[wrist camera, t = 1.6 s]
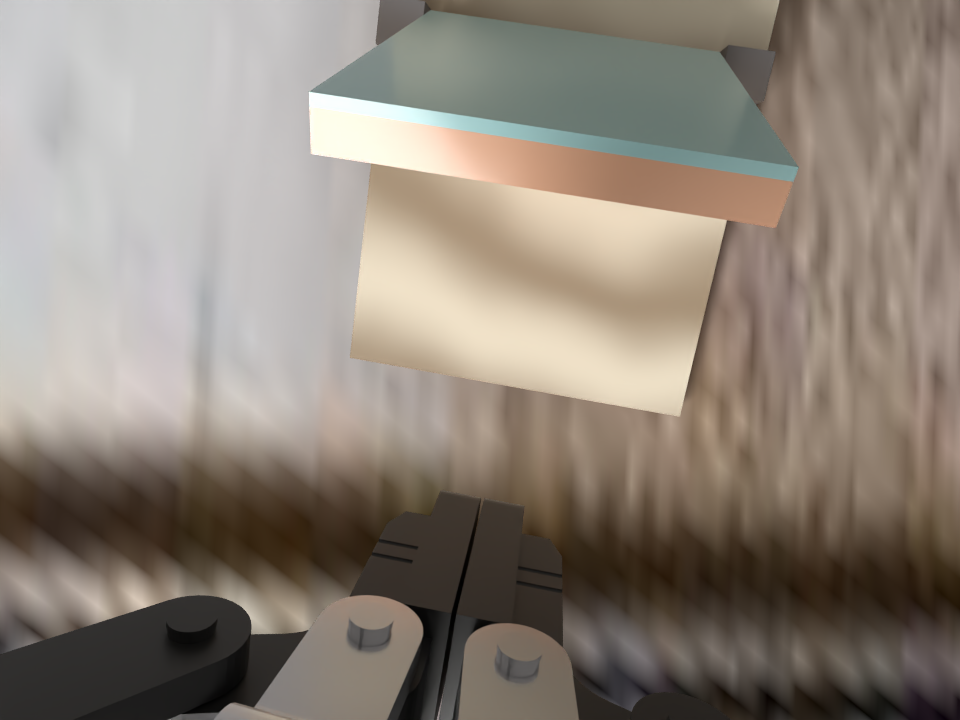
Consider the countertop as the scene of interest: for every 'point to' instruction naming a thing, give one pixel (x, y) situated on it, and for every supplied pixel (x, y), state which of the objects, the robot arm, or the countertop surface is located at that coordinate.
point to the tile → (558, 117)
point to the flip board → (550, 241)
